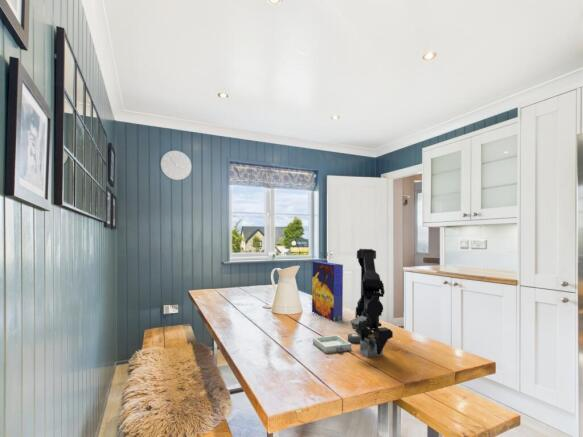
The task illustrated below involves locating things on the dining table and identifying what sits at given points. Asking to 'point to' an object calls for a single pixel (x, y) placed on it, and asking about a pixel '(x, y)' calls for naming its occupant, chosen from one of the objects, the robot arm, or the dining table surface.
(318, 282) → the cereal box
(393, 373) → the dining table surface
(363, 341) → the grey stepped block
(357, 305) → the robot arm
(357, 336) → the spare wheel
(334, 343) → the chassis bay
